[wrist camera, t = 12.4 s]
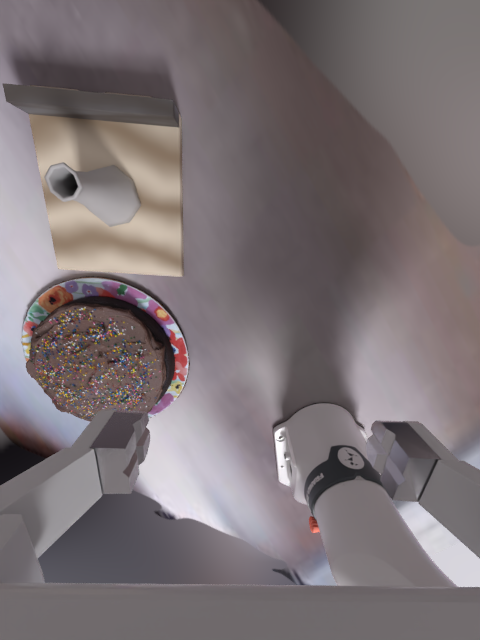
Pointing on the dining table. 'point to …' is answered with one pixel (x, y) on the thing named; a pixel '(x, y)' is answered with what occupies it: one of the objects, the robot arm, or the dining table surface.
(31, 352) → the chocolate cake
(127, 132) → the shelf board
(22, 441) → the dining table surface
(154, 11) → the dining table surface
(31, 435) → the dining table surface
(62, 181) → the flask
